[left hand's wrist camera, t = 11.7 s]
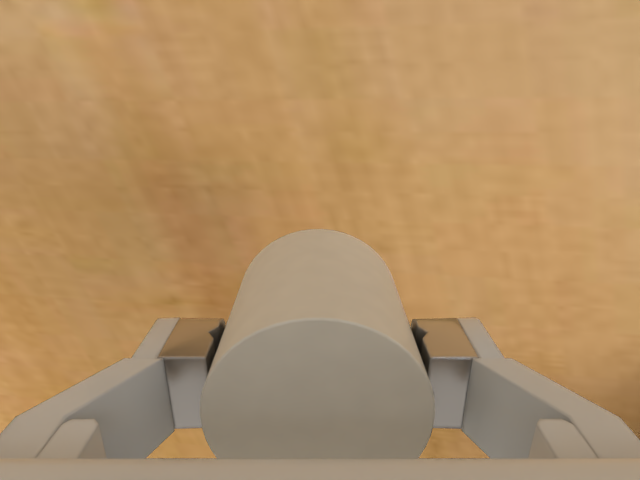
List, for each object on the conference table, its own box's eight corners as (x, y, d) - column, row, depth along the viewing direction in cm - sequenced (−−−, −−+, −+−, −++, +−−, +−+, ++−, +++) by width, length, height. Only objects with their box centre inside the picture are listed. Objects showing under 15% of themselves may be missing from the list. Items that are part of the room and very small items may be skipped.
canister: (307, 195, 11) (300, 269, 7) (428, 292, 12) (485, 408, 8) (209, 309, 12) (153, 431, 8) (327, 389, 13) (330, 533, 9)
